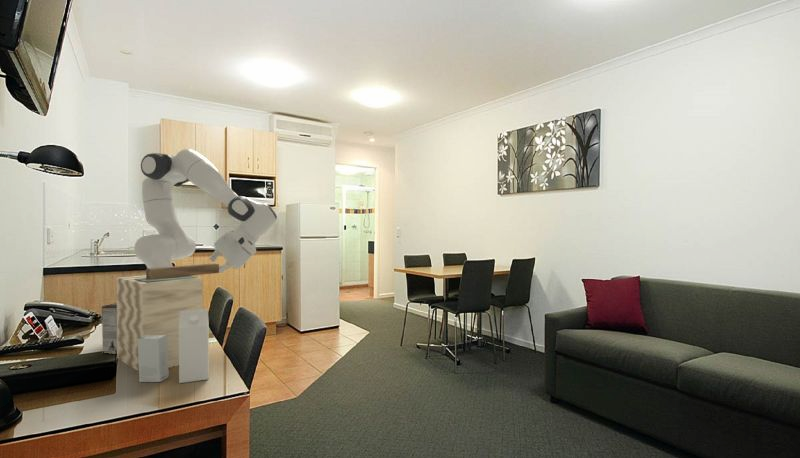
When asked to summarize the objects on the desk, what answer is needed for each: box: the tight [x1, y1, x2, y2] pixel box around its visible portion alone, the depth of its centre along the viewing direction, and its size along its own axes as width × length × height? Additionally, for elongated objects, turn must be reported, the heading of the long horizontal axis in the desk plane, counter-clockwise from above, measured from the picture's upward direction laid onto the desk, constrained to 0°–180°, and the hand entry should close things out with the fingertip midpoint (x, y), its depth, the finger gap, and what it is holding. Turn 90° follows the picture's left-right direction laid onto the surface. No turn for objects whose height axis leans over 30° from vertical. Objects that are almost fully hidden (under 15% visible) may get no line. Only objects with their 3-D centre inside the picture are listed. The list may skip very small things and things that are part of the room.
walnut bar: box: [145, 263, 220, 279], centre depth 134 cm, size 4×21×3 cm, turn 141°
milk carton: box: [178, 308, 210, 384], centre depth 116 cm, size 7×7×19 cm
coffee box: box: [101, 302, 117, 352], centre depth 142 cm, size 9×6×16 cm
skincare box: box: [138, 335, 170, 383], centre depth 115 cm, size 6×4×12 cm
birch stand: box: [115, 274, 204, 372], centre depth 132 cm, size 22×17×26 cm
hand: (215, 265), depth 156 cm, fingers open, 8 cm apart
